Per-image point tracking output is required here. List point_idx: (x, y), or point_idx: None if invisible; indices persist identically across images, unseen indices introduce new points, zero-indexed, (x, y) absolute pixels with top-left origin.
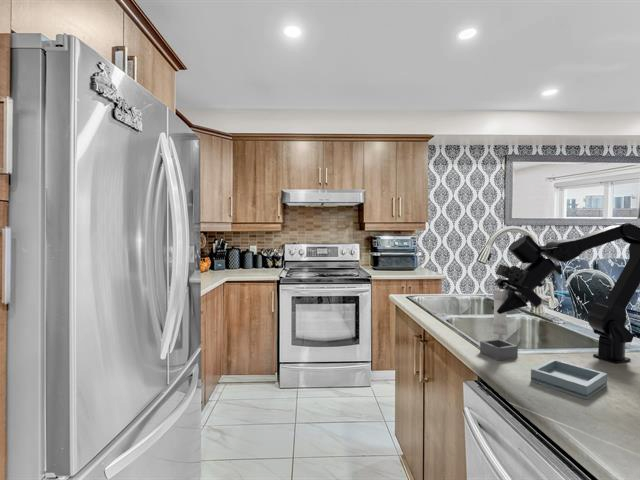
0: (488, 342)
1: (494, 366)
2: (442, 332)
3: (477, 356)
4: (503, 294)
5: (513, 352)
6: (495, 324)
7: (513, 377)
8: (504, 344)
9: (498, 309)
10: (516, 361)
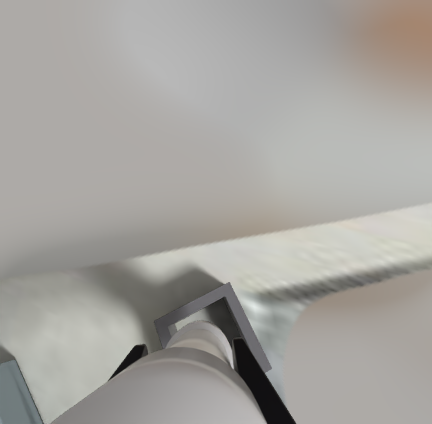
0: (232, 312)
1: (127, 293)
2: (392, 224)
3: (199, 270)
4: None
5: None
6: (185, 332)
7: (52, 319)
8: None
9: (130, 359)
10: None
